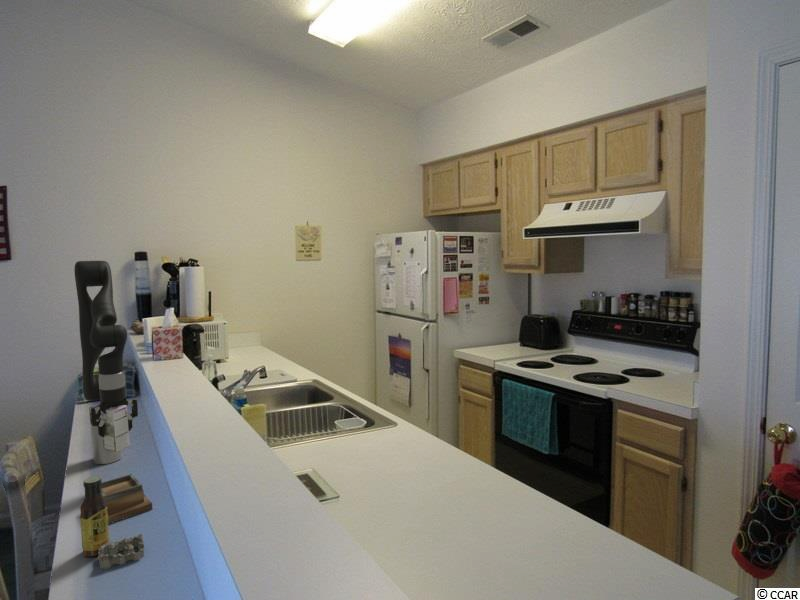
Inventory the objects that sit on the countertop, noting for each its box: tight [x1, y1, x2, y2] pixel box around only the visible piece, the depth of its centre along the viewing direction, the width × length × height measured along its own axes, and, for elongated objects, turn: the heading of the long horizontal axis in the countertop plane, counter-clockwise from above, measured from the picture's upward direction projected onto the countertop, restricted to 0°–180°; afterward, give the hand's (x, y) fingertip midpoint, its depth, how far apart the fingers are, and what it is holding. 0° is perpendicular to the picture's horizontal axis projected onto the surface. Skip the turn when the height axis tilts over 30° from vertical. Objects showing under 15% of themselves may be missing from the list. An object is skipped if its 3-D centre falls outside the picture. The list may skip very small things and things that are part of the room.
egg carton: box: [97, 533, 145, 570], centre depth 135 cm, size 11×8×4 cm
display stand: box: [101, 473, 153, 525], centre depth 159 cm, size 16×14×8 cm
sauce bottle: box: [80, 476, 110, 558], centre depth 137 cm, size 6×6×20 cm
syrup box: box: [101, 405, 131, 452], centre depth 171 cm, size 6×6×14 cm
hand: (115, 433), depth 171 cm, fingers closed on syrup box, 7 cm apart
